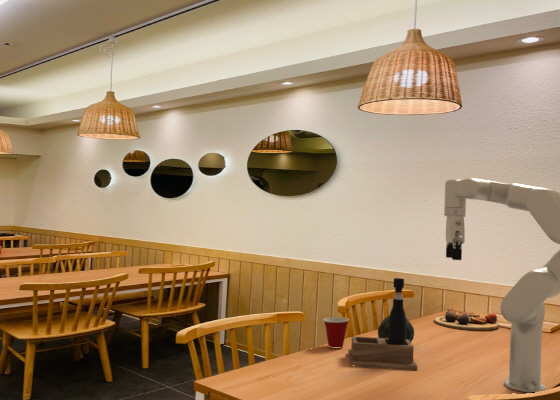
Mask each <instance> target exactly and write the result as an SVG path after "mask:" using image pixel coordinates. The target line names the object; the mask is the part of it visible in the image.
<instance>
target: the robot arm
mask: <svg viewBox="0 0 560 400" xmlns="http://www.w3.org/2000/svg"><path fill="white" fill-rule="evenodd" d="M467 199H468V200H478V201H479V200H480V201H486V202H491V203H496V204H500V205H505V206H507V207H508V208H510V209H512V210H513V209H514V210H520V211H525V212H529V213H530V215H531V216H532V217H533V219H534V221H535V222H536V223H537V224H538V225H539V227H540V228H541V230H542V231H543V232H544V234H545V235H546V236H547V237H548V239H549V240H551V241H552V242H553V243H555V244H557V245H560V192H559V191H557V190H555V189H551V188H545V187H539V186H532V185H526V184H520V183H504V182H498V181H492V180H487V179H481V178H471V177H468V178H465V179H447V180H446V181H445V184H444V208H443V209H444V210H443V211H444V212H443V213H444V214H443V216H444V217H446V220H445V241H446V244H445V245H446V248H445V258H448V259H451V260H453V261H462V255H463V254H462V253H463V244H465V237H466V236H465V235H466V233H465V232H466V231H465V228H466V227H465V218H466V213H467V211H466V210H467V209H466V207H467V206H466V204H467ZM559 294H560V249H559V250H558V251H556V252H555V253H554V254H553V255H552V256H551V258H550V259H549V260H548V261H547V262H546V263H545V264H544V265H543V266H542V267H541V268H536V269H532V270H530V271H527V272H526V273H525V274H524V275H522V277H520V278H519V280H518V281H517V282H516V283H515V285H513V287H511V289H510V290H509V291H507V294H505V296H503V298H502V299H501V302H500V307H499V309H500V313H501V316H502V317H503V319H504V320H506V321H507V322H509V323H511V325H510V334H509V335H510V336H509V337H510V339H509V366H508V367H509V369H508V370H509V371H508V372H509V373H508V374H509V376H508V377H507V378H505V379H504V380H503V384H504V386H506V387H507V388H508V389H511V390H513V391H517V392H523V393H529V394H532V393H531V392H538V391H543V390H545V391H546V390H547V389H546V385H545V384H543V383H542V382H541V381H542V380H541V379H542V377H541V375H542V372H541V370H542V343H543V340H542V339H543V326H544V325H543V324H544V319H545V312H546V309H545V308H546V307H545V303H544V302H545V301H546V300H547V299H550V298H551V299H552V298H554V297H557V296H558V295H559Z"/></svg>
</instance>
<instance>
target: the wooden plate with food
mask: <svg viewBox="0 0 560 400" xmlns="http://www.w3.org/2000/svg"><path fill="white" fill-rule="evenodd" d="M444 313H445V315H442V316H436V317H435V318H434V319H433V322H434V323H435V324H436V325H438V326H442V327H444V328H449V329H453V330H463V331H475V332H476V331H477V332H478V331H493V330H497V329H498V328H499V326H500V325H499V323H498V322H497V321H498V317H497V314H496V313H494V312H492V313H491V312H489V313H488V314H487V315H485V316H484V315H483V314H481V313H477V314H476V313H475V314H470V313H469V314H468V313H467V312H466V311H465V312H461V311H459V312H458V313H457V312H456V309H454V308H451V309H447V311H445V312H444Z"/></svg>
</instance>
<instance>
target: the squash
mask: <svg viewBox="0 0 560 400" xmlns="http://www.w3.org/2000/svg"><path fill="white" fill-rule="evenodd" d="M389 317H390V315H389V316H386V317H385V318H383V320H382V321H381V323H380V324H379V326H378V329H377V336H378V337H377V338H388V334H389ZM414 336H415V329H414V326H413V325H412V323H411V322H410V320H409V319H408V318H407V317H406V339H409V341H410V342H411V343H412V341H413V340H414V338H415V337H414Z"/></svg>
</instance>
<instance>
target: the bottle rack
mask: <svg viewBox="0 0 560 400" xmlns="http://www.w3.org/2000/svg"><path fill="white" fill-rule="evenodd" d="M350 344H351V347H350V348H349V349H347V350H348V351H347V353H349V355H348V360H349V359H350V361H349V366H350V365H355V366H365V367H364V368H370V367H377V368H376V369H386V368H392V369H391V370H402V371H403V370H407V371H418V365H417V363H416V361H415V360H414V347H415V346H414V345H413V344H412V341H411V342H410V341H409V339H406V345H393V344H388V338H379V337H369V336H351V343H350Z"/></svg>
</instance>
